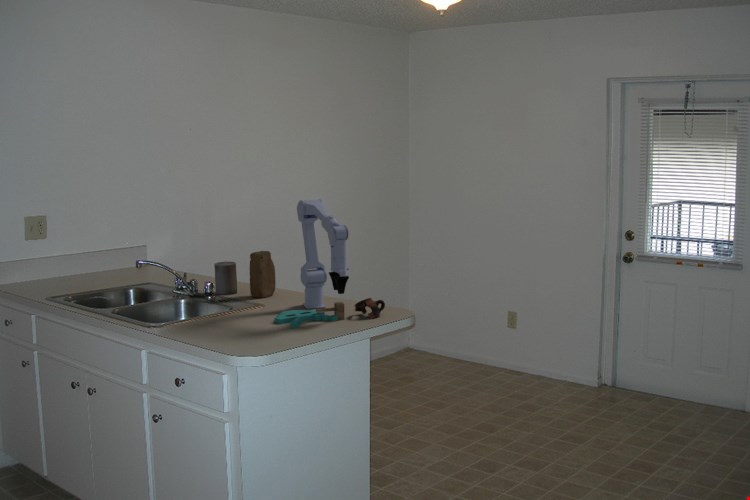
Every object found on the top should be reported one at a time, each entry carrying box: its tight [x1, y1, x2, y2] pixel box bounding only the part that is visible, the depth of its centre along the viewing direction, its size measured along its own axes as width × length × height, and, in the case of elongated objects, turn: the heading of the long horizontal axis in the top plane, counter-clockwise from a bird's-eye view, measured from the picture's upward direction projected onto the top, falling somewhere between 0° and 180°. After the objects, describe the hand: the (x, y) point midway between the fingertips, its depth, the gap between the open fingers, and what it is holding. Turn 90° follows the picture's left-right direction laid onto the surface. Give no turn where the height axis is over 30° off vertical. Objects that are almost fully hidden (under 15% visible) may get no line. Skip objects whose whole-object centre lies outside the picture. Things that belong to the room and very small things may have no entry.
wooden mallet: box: [315, 301, 346, 321], centre depth 296 cm, size 4×10×6 cm, turn 106°
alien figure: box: [273, 309, 339, 329], centre depth 296 cm, size 20×2×20 cm
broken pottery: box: [354, 297, 386, 320], centre depth 302 cm, size 12×10×8 cm
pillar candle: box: [213, 260, 238, 296], centre depth 349 cm, size 10×10×15 cm
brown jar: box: [249, 250, 277, 299], centre depth 341 cm, size 11×8×20 cm
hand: (338, 291), depth 299 cm, fingers open, 7 cm apart
